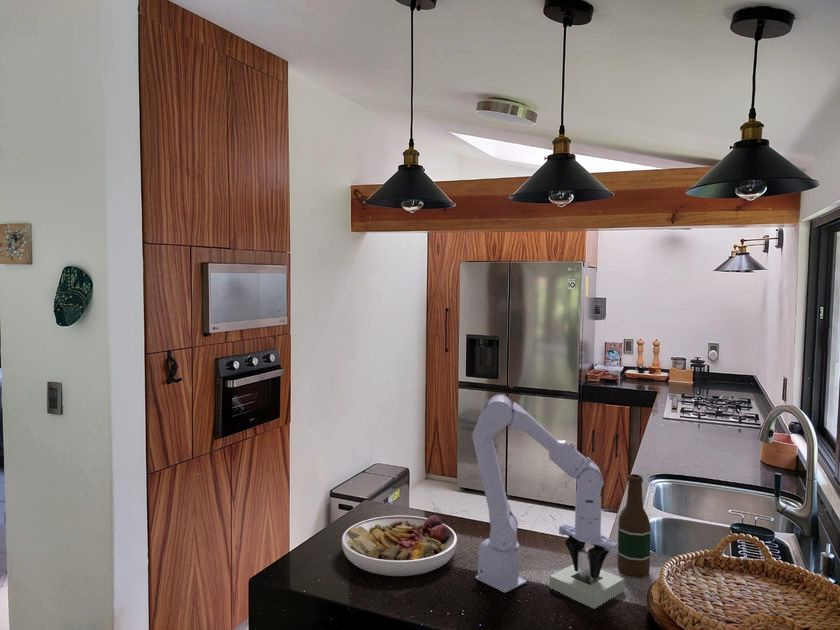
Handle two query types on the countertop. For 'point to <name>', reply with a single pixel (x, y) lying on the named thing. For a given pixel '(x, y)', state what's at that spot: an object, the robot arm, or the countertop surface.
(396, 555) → the bowl
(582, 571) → the steel peg
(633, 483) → the beer bottle
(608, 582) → the hole block
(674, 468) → the countertop surface
